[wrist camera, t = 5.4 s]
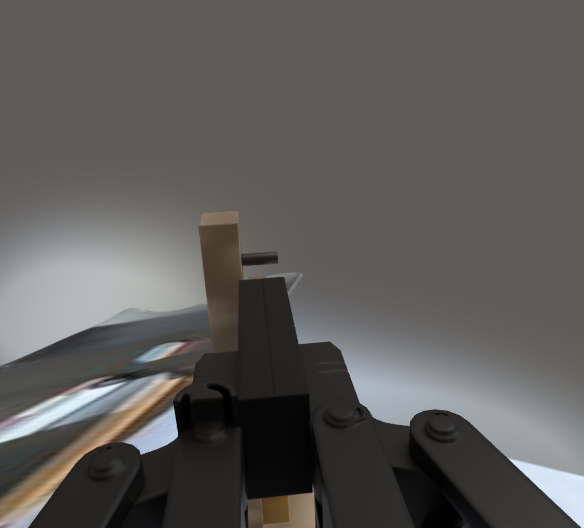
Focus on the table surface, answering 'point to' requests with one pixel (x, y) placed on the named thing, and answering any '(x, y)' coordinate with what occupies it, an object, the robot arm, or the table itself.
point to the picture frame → (274, 499)
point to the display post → (224, 324)
